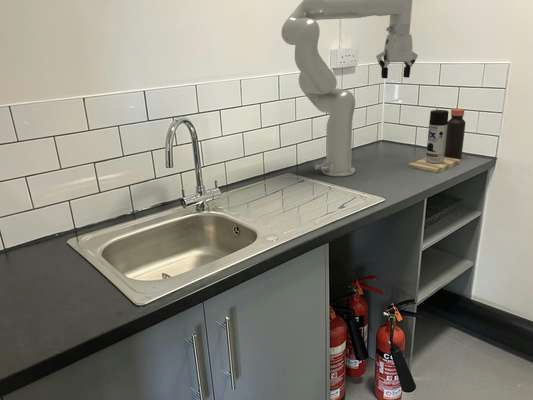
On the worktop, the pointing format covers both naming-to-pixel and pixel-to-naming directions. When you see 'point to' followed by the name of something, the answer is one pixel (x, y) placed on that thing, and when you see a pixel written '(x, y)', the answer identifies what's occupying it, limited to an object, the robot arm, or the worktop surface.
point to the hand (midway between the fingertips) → (395, 77)
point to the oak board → (434, 165)
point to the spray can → (437, 136)
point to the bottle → (455, 134)
